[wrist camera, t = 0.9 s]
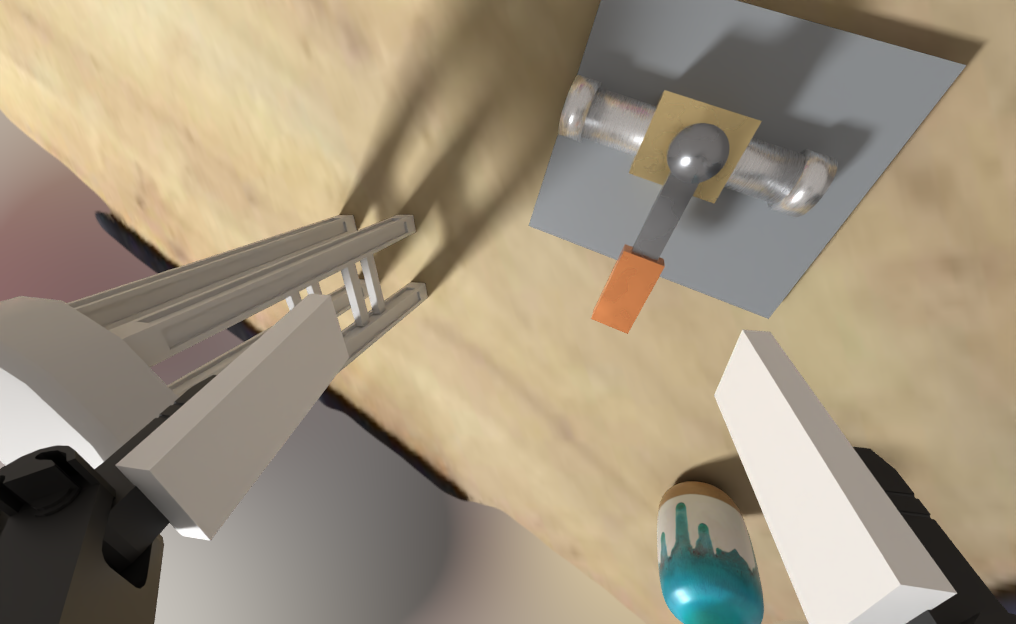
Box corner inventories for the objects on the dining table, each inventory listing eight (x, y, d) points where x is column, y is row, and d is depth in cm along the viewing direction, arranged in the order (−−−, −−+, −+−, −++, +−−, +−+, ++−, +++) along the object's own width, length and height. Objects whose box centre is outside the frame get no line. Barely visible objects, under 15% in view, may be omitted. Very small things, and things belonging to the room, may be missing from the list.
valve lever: (736, 132, 25) (742, 134, 23) (630, 324, 33) (629, 334, 31) (682, 115, 25) (685, 115, 24) (591, 308, 33) (589, 317, 32)
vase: (656, 461, 53) (661, 616, 36) (744, 473, 49) (793, 650, 33) (655, 513, 57) (659, 671, 41) (735, 527, 53) (775, 707, 37)
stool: (351, 304, 57) (36, 507, 28) (322, 199, 50) (-138, 318, 21) (443, 312, 52) (182, 567, 23) (425, 197, 46) (19, 348, 16)
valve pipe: (826, 147, 31) (887, 158, 23) (779, 216, 34) (819, 246, 26) (585, 69, 34) (567, 55, 26) (562, 140, 37) (540, 146, 29)
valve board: (946, 68, 28) (966, 65, 26) (763, 310, 39) (768, 318, 38) (614, -27, 31) (612, -35, 30) (533, 221, 43) (528, 225, 41)
